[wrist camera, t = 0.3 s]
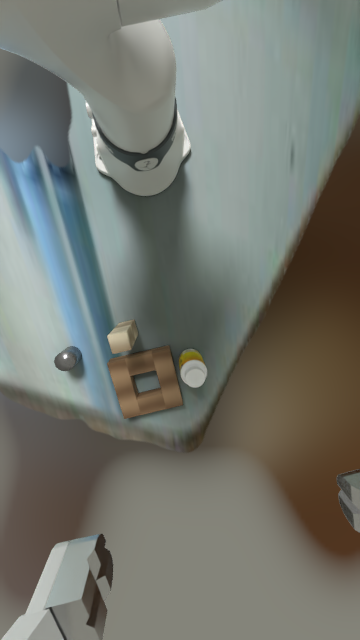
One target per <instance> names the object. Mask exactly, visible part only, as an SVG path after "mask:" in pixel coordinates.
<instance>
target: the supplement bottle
mask: <svg viewBox="0 0 360 640" xmlns="http://www.w3.org/2000/svg"><path fill="white" fill-rule="evenodd" d="M179 368H180V375H181V378H182V380H183V381H184V382H185V383H186V384H188V385H189V386H190V387H194V388H196V387H200V386H201V385H202V384H203V383H204V381H205V379H206V377H207V368H206V366H205V363H204V361H203V359H202V356H201V354H200V353H199V352H198V351H197V350H195V349H187V350H184V351H183V352H182V353H181V354H180V356H179Z"/></svg>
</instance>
